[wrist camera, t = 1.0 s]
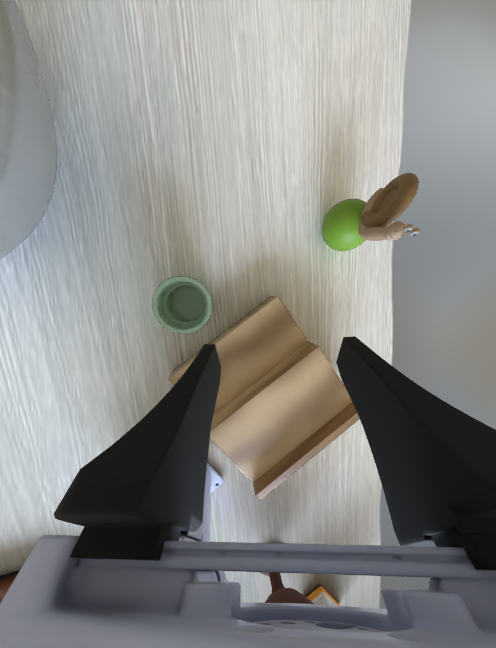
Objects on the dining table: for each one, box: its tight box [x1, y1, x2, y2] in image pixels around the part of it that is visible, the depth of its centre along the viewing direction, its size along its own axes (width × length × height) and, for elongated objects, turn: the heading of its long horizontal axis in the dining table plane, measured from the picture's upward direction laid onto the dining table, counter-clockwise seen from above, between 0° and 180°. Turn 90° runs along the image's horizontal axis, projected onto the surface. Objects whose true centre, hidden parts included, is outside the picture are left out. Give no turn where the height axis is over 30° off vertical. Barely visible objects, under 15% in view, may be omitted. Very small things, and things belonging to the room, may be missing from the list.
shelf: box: [169, 296, 360, 500], centre depth 24 cm, size 17×16×6 cm
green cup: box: [152, 276, 212, 334], centre depth 21 cm, size 6×6×5 cm
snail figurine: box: [322, 173, 420, 251], centre depth 19 cm, size 5×6×12 cm
